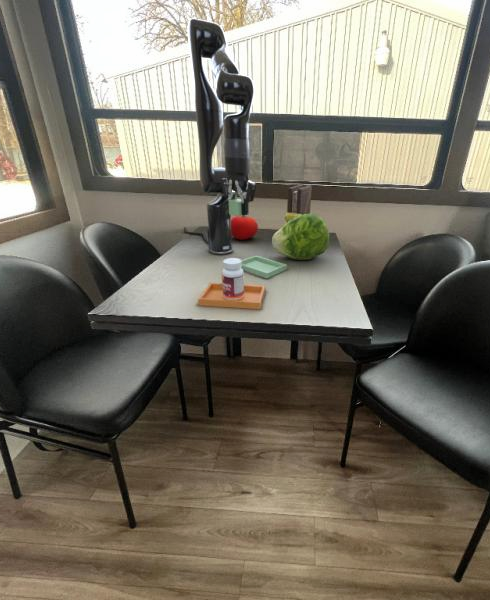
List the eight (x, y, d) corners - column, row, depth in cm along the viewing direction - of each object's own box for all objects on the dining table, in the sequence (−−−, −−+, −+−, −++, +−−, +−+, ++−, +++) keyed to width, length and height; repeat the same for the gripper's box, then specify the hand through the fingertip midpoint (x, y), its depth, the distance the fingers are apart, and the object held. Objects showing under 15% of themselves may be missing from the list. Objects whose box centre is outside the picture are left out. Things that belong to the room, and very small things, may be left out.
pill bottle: (219, 296, 88) (216, 260, 83) (234, 290, 93) (233, 255, 87) (232, 303, 85) (230, 266, 80) (248, 296, 89) (247, 260, 84)
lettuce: (275, 250, 134) (268, 211, 122) (326, 243, 133) (324, 203, 121) (275, 273, 119) (268, 231, 108) (333, 265, 118) (332, 222, 107)
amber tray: (198, 305, 84) (198, 299, 83) (210, 288, 94) (210, 282, 93) (260, 309, 83) (260, 303, 82) (265, 291, 94) (265, 285, 93)
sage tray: (235, 267, 111) (234, 262, 110) (255, 260, 120) (255, 255, 119) (267, 278, 103) (267, 273, 102) (286, 269, 112) (286, 264, 111)
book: (296, 233, 160) (298, 184, 149) (311, 235, 157) (315, 185, 146) (281, 244, 141) (283, 188, 130) (298, 246, 139) (301, 190, 127)
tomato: (233, 234, 153) (233, 212, 147) (259, 236, 151) (259, 213, 146) (226, 241, 142) (224, 216, 137) (254, 243, 140) (253, 218, 135)
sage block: (229, 214, 96) (228, 200, 94) (239, 212, 100) (238, 198, 98) (238, 216, 94) (238, 202, 92) (248, 214, 97) (248, 200, 95)
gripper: (263, 157, 88) (263, 215, 96) (230, 154, 95) (232, 209, 103) (245, 157, 83) (246, 219, 90) (211, 154, 90) (215, 211, 98)
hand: (239, 213), depth 97 cm, fingers closed on sage block, 4 cm apart
